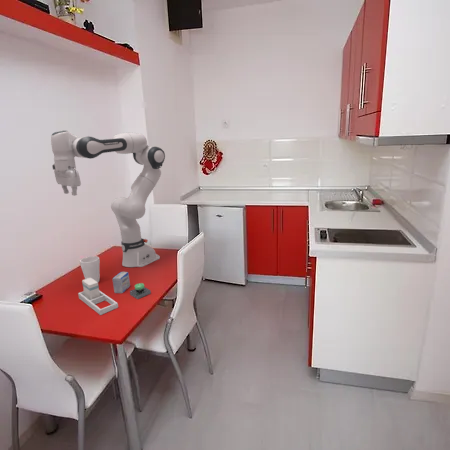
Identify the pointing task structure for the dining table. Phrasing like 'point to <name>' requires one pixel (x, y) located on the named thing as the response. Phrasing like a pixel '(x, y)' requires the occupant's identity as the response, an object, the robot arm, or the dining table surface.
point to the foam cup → (91, 267)
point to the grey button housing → (141, 294)
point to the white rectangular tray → (97, 300)
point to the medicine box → (121, 282)
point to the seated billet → (91, 288)
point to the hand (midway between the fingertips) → (70, 194)
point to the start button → (139, 287)
